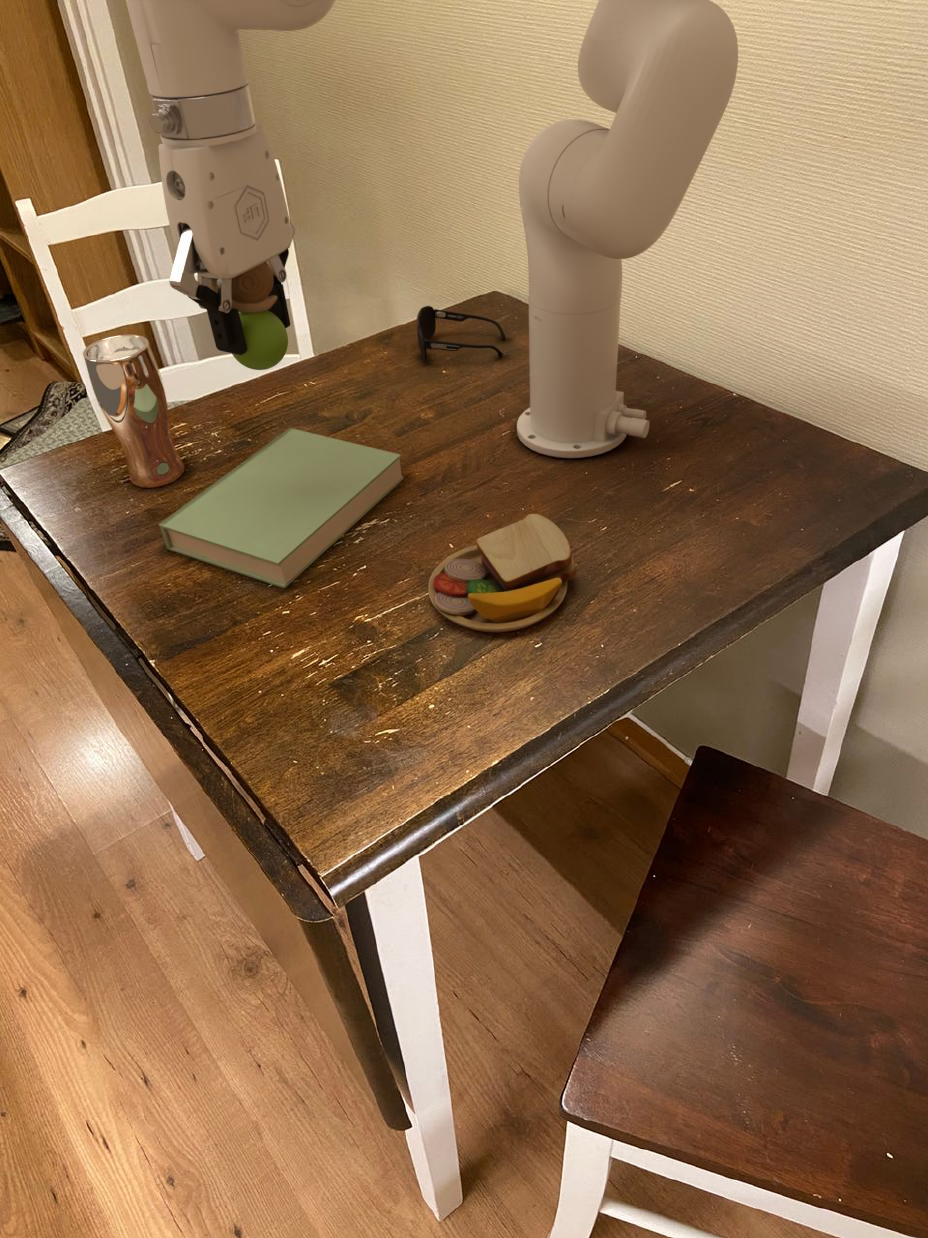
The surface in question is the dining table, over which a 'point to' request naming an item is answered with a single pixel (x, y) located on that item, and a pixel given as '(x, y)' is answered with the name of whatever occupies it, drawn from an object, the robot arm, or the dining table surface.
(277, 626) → the dining table surface
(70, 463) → the dining table surface
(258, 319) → the snail figurine
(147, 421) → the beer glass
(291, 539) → the book
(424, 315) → the sunglasses
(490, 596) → the toy sandwich meal
